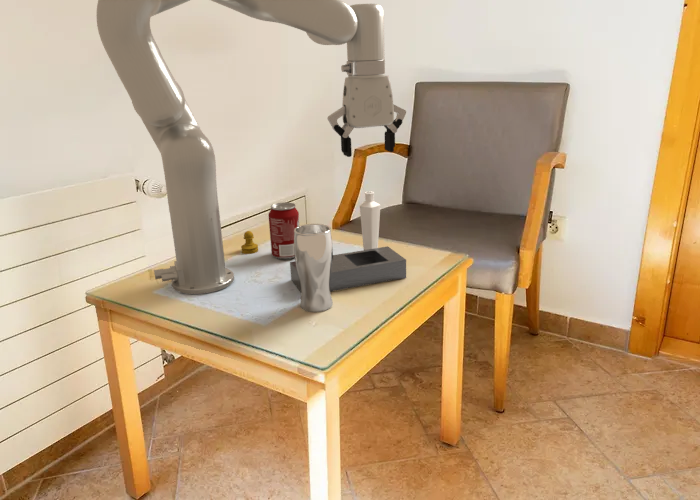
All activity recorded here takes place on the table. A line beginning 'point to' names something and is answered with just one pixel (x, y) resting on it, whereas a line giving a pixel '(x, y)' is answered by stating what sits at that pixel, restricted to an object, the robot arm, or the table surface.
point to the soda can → (283, 229)
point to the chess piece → (249, 244)
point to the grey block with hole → (361, 268)
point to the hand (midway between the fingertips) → (368, 153)
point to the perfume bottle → (370, 221)
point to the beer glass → (314, 265)
